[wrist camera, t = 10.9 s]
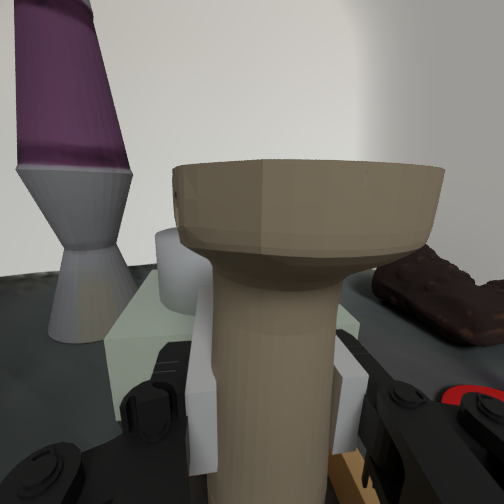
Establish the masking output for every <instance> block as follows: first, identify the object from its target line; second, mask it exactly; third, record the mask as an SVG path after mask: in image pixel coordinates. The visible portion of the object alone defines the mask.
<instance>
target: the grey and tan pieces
mask: <svg viewBox="0 0 504 504" xmlns="http://www.w3.org/2000/svg"><path fill="white" fill-rule="evenodd" d="M155 243H156V256H157V269H158V270H152V271H151V272H150V274H149V275H148V276H147V278H146V279H145V281H144V282H143V284H142V285H141V287H140V288H139V289H138V291H137V292H136V294H135V295H134V297H133V298H132V299H131V301H130V302H129V304H128V305H127V307H126V308H125V310H124V311H123V312H122V314H121V315H120V317H119V318H118V320H117V321H116V322H115V324H114V325H113V327H112V328H111V330H110V331H109V333H108V334H107V335H106V337H105V338H104V345H105V351H106V358H107V365H108V371H109V378H110V384H111V391H112V398H113V404H114V411H115V417H116V421H117V422H118V424H119V425H120V427H121V428H122V422H121V416H120V409H119V406H120V404H121V402H122V400H123V398H124V396H125V395H126V394H127V393H128V392H129V391H130V390H131V389H132V388H134V387H135V386H137V385H138V384H140V383H142V382H144V381H147V380H150V379H151V375H152V374H153V369H154V366H155V364H156V360H157V357H158V354H159V351H160V350H161V349H162V348H163V347H164V346H165V345H166V344H167V342H176V341H191V340H192V337H193V329H194V322H195V314H196V307H197V299H198V292H199V287H208V286H213V273H212V265H211V263H210V261H209V260H208V259H206V258H204V257H202V256H200V255H198V254H196V253H195V252H193V251H191V250H190V249H188V248H186V247H185V246H183V245H182V244H180V239H179V234H178V230H177V227H176V228H170V229H166V230H163V231H160V232H158V233H156V235H155ZM359 326H360V323H359V322H358V321H357V320H356V319H355V318H354V317H353V316H352V315H351V314H350V313H349V312H348V311H346V310H345V309H344V308H343V307H342V306H341V305H340V304H339V305H338V311H337V322H336V329H343V330H345V331H346V332H348V333H350V334H351V335H353V336H354V337H355V338H356V339H358V332H359ZM364 462H365V461H364V460H363V458H362V456H361V454H360V452H359V450H358V449H357V448H356V451H353V452H346V453H340V454H333V455H332V453H331V451H330V449H329V455H328V476H329V478H330V481H331V483H332V486H333V488H334V491H335V493H336V496H337V499H338V501H339V504H380V502H379V499H378V496H377V494H376V491H375V489H373V488H372V481H371V478H370V476H369V480H368V485H367V488H363V486H362V480H361V478H362V472H363V467H364ZM206 474H207V473H206ZM199 475H203V474H199ZM189 476H190V471H189ZM193 476H196V475H193Z"/></svg>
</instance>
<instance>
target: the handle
mask: <svg viewBox="0 0 504 504" xmlns="http://www.w3.org/2000/svg"><path fill="white" fill-rule="evenodd" d="M172 172H173V177H172V187H173V204H174V216H175V221H176V226H177V230H178V234H179V239H180V244H182V245H183V246H185V247H186V248H188V249H190V250H191V251H193V252H195V253H196V254H198V255H200V256H202V257H204V258H206V259H208V260H209V261H210V263H211V265H212V273H213V328H212V356H211V368H212V373H213V375H214V377H215V380H216V395H217V446H218V466H217V472H213V473H207V488H208V504H325V497H326V489H327V475H328V455H329V435H330V415H331V396H332V381H333V366H334V352H335V337H336V322H337V311H338V305H339V299H340V294H341V288H342V282H343V279H345V278H346V277H347V276H349V275H351V274H354V273H357V272H361V271H364V270H368V269H372V268H376V267H380V266H383V265H386V264H389V263H391V262H394V261H396V260H398V259H401V258H403V257H405V256H407V255H409V254H411V253H413V252H414V251H416V250H418V249H420V248H421V247H422V246H424V245H425V244H426V242H427V240H428V238H429V235H430V232H431V230H432V227H433V223H434V218H435V214H436V210H437V206H438V201H439V197H440V191H441V187H442V183H443V178H444V173H445V169H443V168H439V167H433V166H424V165H413V164H400V163H385V162H368V161H343V160H342V161H341V160H300V159H297V160H296V159H283V160H282V159H261V160H247V161H246V160H245V161H229V162H215V163H214V162H213V163H200V164H189V165H181V166H177V167H175V168H173V169H172Z"/></svg>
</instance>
